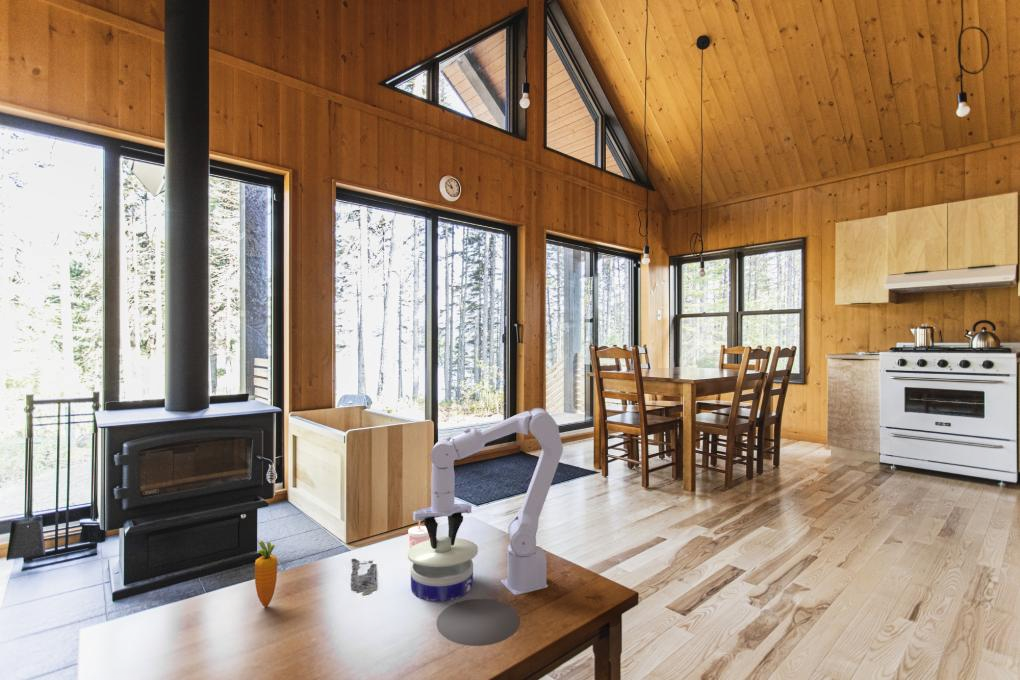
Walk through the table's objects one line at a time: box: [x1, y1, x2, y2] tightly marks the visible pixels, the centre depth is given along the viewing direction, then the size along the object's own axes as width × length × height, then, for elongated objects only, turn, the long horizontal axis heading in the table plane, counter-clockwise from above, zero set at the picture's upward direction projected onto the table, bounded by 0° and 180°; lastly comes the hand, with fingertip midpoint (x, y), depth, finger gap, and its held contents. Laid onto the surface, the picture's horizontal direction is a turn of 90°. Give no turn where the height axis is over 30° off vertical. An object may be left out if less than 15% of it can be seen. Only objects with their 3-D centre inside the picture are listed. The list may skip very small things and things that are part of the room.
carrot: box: [254, 540, 278, 608], centre depth 115 cm, size 5×5×15 cm
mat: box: [436, 598, 521, 647], centre depth 109 cm, size 18×18×1 cm
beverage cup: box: [407, 520, 430, 565], centre depth 138 cm, size 6×6×14 cm
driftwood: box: [350, 558, 378, 596], centre depth 129 cm, size 21×7×2 cm, turn 15°
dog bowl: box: [410, 559, 474, 603], centre depth 124 cm, size 15×15×6 cm
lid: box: [407, 536, 479, 567], centre depth 124 cm, size 17×17×3 cm
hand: (442, 545), depth 124 cm, fingers closed on lid, 4 cm apart
